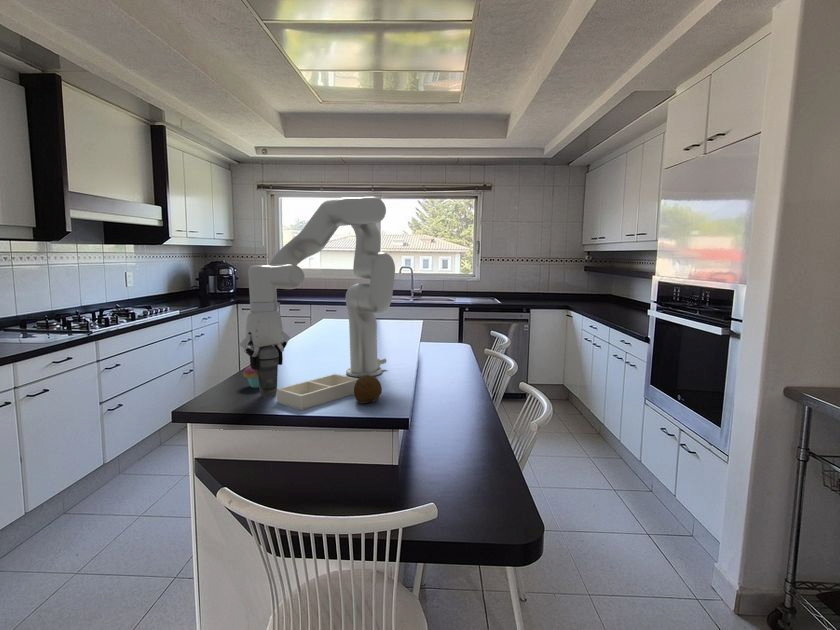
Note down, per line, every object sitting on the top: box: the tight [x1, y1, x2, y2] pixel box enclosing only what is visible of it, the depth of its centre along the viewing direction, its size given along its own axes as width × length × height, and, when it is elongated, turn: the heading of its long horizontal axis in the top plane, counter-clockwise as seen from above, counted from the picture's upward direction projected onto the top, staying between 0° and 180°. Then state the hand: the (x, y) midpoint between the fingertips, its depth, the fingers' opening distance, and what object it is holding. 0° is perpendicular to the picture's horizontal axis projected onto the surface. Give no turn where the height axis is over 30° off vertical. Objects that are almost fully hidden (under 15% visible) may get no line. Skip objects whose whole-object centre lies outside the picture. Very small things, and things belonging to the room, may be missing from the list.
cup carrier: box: [276, 373, 359, 411], centre depth 139 cm, size 22×11×4 cm, turn 141°
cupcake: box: [242, 365, 259, 389], centre depth 152 cm, size 9×8×12 cm
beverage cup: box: [257, 345, 279, 398], centre depth 141 cm, size 7×7×20 cm
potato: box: [353, 375, 383, 404], centre depth 134 cm, size 8×12×8 cm, turn 19°
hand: (267, 366), depth 141 cm, fingers closed on beverage cup, 7 cm apart
